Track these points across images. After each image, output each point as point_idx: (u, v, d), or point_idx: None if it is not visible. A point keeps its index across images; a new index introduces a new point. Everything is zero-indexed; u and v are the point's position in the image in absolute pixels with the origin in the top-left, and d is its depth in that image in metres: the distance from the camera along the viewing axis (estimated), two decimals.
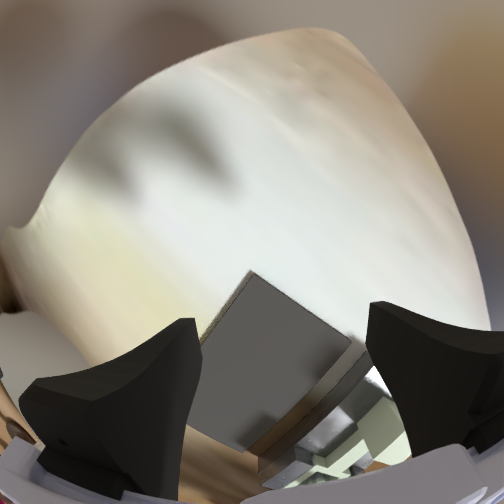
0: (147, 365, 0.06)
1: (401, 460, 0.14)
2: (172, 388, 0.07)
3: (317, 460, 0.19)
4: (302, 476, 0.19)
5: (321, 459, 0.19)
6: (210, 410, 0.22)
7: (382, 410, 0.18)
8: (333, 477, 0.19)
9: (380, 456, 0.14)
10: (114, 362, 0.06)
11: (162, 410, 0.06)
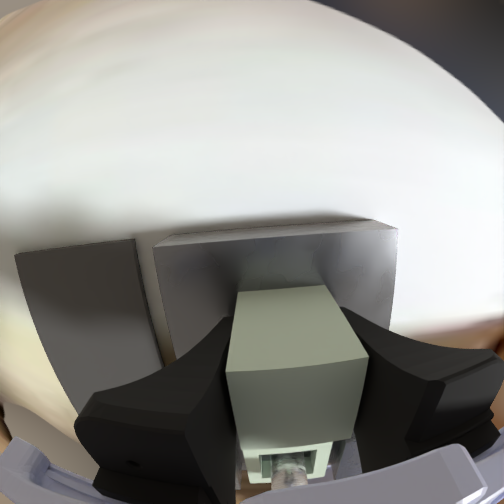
0: (215, 367, 0.06)
1: (345, 426, 0.07)
2: None
3: None
4: (248, 465, 0.12)
5: None
6: None
7: None
8: None
9: (251, 441, 0.07)
10: (174, 366, 0.06)
11: (225, 413, 0.06)
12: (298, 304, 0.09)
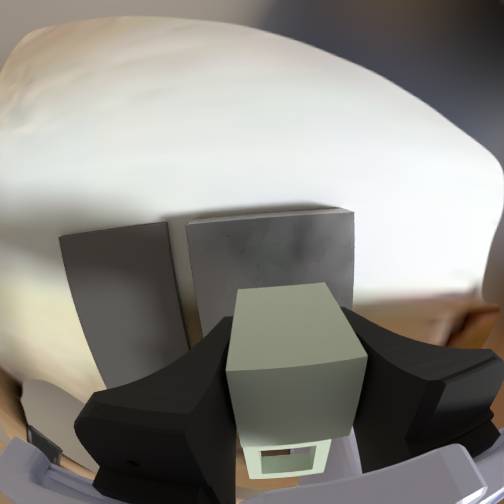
0: (215, 367, 0.06)
1: (344, 424, 0.07)
2: None
3: None
4: (248, 461, 0.12)
5: None
6: (134, 371, 0.21)
7: None
8: None
9: (251, 438, 0.07)
10: (174, 366, 0.06)
11: (225, 413, 0.06)
12: (298, 302, 0.09)
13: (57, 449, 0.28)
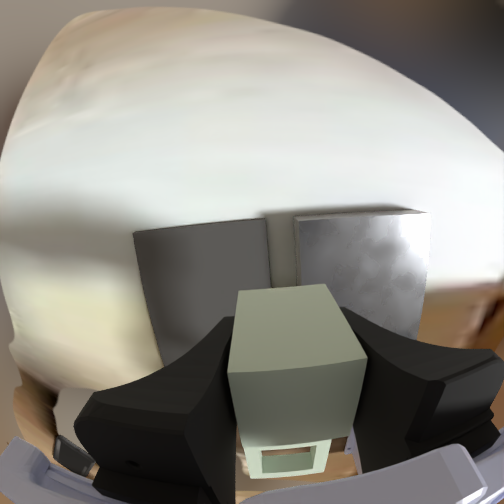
0: (215, 367, 0.06)
1: (344, 424, 0.07)
2: (229, 390, 0.07)
3: None
4: (249, 461, 0.12)
5: None
6: None
7: None
8: None
9: (252, 438, 0.07)
10: (174, 366, 0.06)
11: (225, 413, 0.06)
12: (298, 303, 0.09)
13: (90, 458, 0.29)
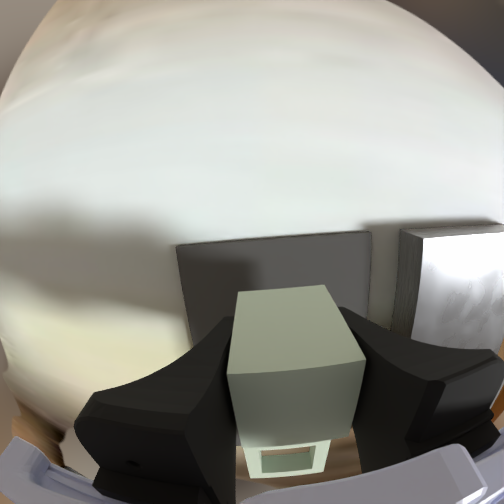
0: (215, 367, 0.06)
1: (343, 425, 0.07)
2: (229, 390, 0.07)
3: None
4: (248, 461, 0.12)
5: None
6: None
7: None
8: None
9: (252, 439, 0.07)
10: (174, 366, 0.06)
11: (225, 413, 0.06)
12: (298, 305, 0.09)
13: None
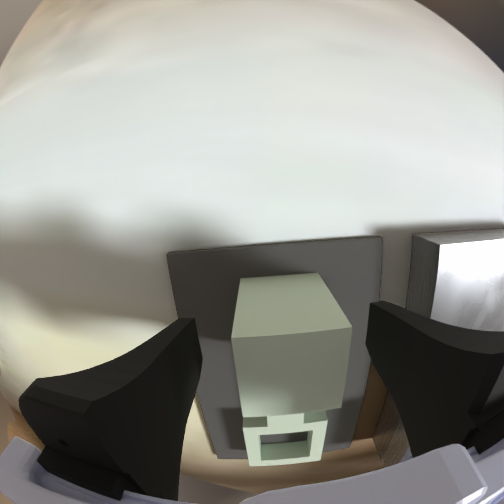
0: (147, 365, 0.06)
1: (335, 395, 0.08)
2: (172, 389, 0.07)
3: (247, 419, 0.14)
4: (248, 446, 0.14)
5: None
6: (272, 434, 0.15)
7: None
8: (310, 429, 0.14)
9: (252, 407, 0.08)
10: (114, 362, 0.06)
11: (162, 410, 0.06)
12: (293, 287, 0.11)
13: None
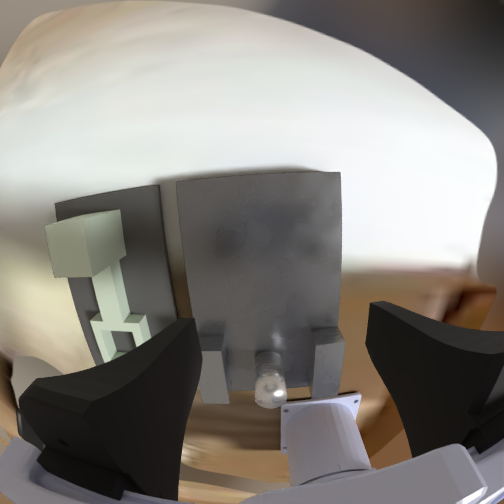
0: (147, 365, 0.06)
1: (86, 265, 0.14)
2: (172, 388, 0.07)
3: (95, 317, 0.20)
4: (98, 342, 0.20)
5: None
6: (121, 342, 0.21)
7: None
8: None
9: (56, 270, 0.14)
10: (114, 362, 0.06)
11: (162, 410, 0.06)
12: (95, 214, 0.17)
13: None
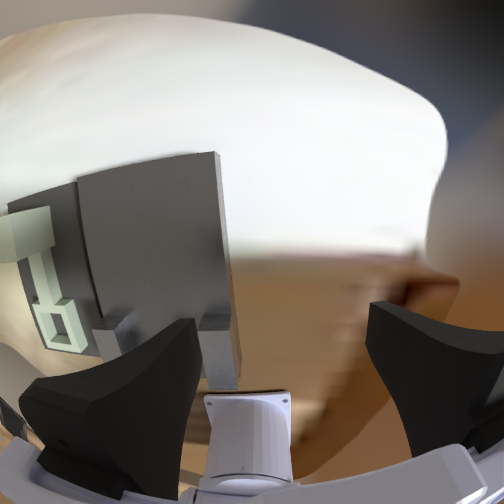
0: (147, 365, 0.06)
1: (13, 251, 0.14)
2: (172, 389, 0.07)
3: (37, 301, 0.20)
4: (39, 324, 0.20)
5: None
6: (59, 325, 0.21)
7: None
8: None
9: None
10: (114, 362, 0.06)
11: (162, 410, 0.06)
12: None
13: (21, 420, 0.28)
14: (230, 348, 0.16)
